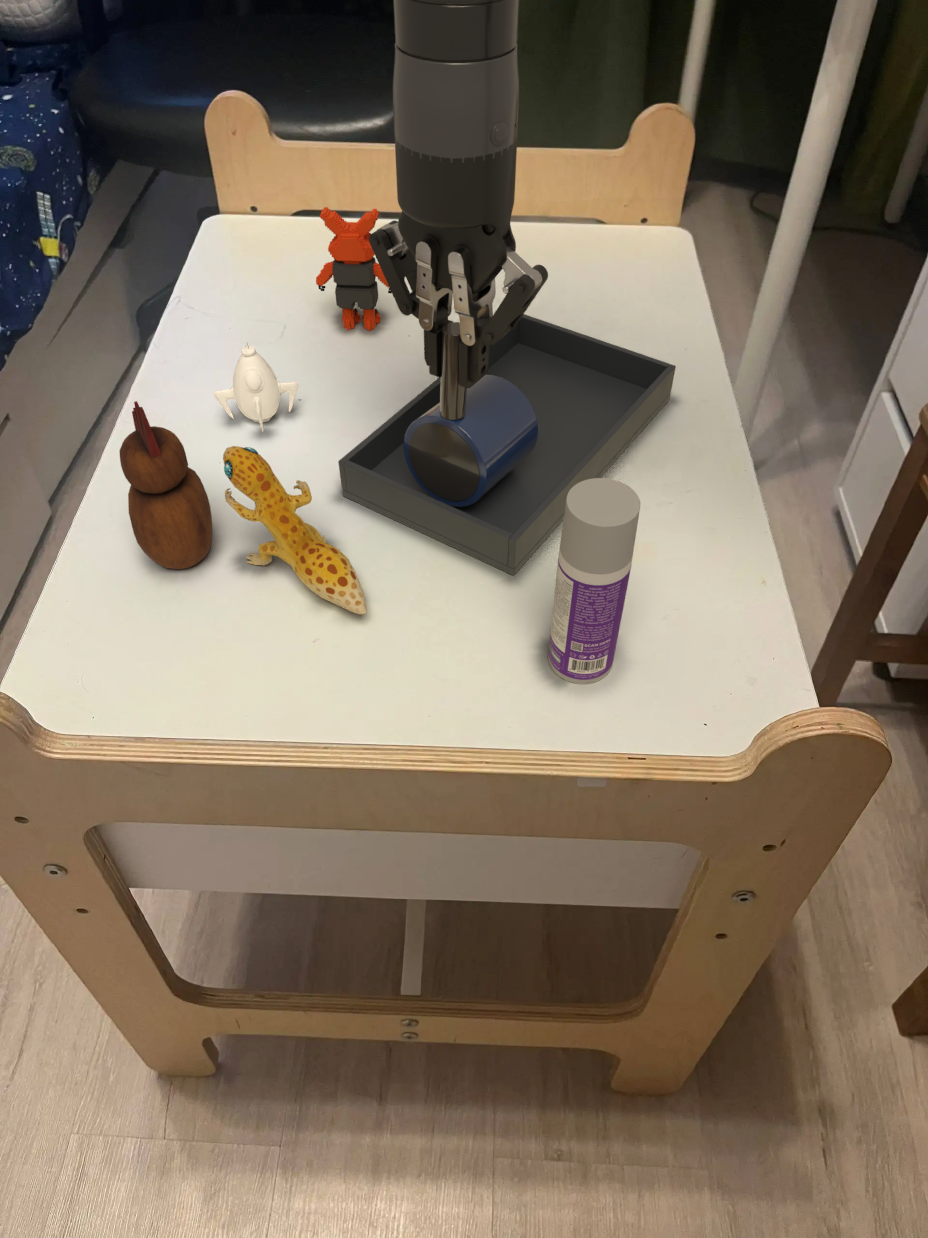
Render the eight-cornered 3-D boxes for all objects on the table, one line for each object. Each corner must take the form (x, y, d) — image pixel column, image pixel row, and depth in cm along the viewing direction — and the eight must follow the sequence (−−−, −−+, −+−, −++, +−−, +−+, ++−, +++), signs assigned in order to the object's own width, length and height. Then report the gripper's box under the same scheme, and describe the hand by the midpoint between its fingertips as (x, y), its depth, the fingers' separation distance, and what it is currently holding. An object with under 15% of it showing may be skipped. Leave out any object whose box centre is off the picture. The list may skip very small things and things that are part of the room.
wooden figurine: (219, 577, 72) (173, 418, 60) (144, 585, 71) (83, 427, 60) (220, 519, 76) (177, 362, 65) (149, 527, 75) (94, 369, 64)
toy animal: (402, 306, 99) (395, 193, 90) (396, 333, 95) (388, 219, 86) (329, 303, 99) (315, 191, 90) (320, 330, 95) (305, 216, 86)
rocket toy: (264, 442, 83) (248, 366, 77) (220, 422, 85) (201, 347, 79) (303, 411, 86) (290, 336, 80) (259, 393, 88) (244, 318, 82)
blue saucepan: (464, 279, 71) (402, 317, 66) (553, 309, 68) (495, 350, 63) (456, 443, 81) (402, 486, 77) (533, 475, 79) (482, 522, 74)
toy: (268, 473, 75) (257, 410, 66) (401, 600, 73) (409, 553, 64) (207, 524, 73) (187, 467, 64) (342, 655, 71) (341, 616, 62)
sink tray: (669, 400, 87) (676, 365, 84) (513, 576, 72) (515, 541, 69) (516, 345, 93) (517, 311, 91) (342, 496, 78) (337, 461, 75)
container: (623, 650, 66) (655, 493, 55) (594, 694, 64) (621, 538, 53) (567, 625, 68) (586, 466, 57) (536, 666, 66) (550, 509, 54)
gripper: (586, 133, 55) (561, 382, 68) (400, 88, 60) (410, 328, 73) (521, 174, 51) (508, 432, 64) (328, 122, 56) (351, 371, 69)
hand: (455, 375), depth 68 cm, fingers closed on blue saucepan, 2 cm apart
